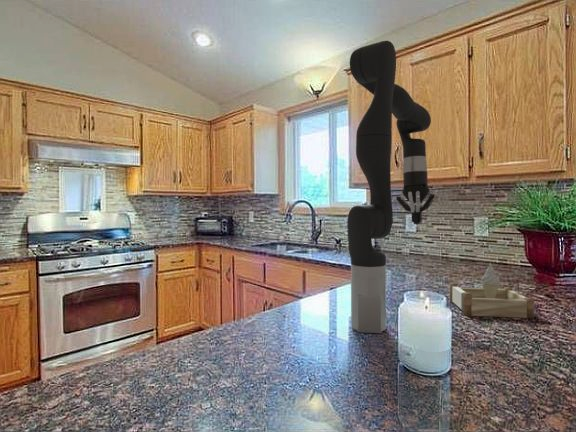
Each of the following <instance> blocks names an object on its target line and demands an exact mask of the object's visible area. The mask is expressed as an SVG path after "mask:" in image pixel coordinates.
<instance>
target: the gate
mask: <svg viewBox="0 0 576 432" xmlns="http://www.w3.org/2000/svg"><path fill="white" fill-rule="evenodd" d="M461 288H462V287H459V286H458V287H452V302H454V303H453V304H454V305H456V307H458V308H459V309H460V310H461V312H463V292H465V291H463V290H462V289H461Z"/></svg>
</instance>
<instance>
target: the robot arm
mask: <svg viewBox="0 0 576 432" xmlns="http://www.w3.org/2000/svg"><path fill="white" fill-rule="evenodd" d="M396 52H397V51H396V49H395V45H394V44H393V43H392V42H391V41H390V40H382V41H378V42H375V43H372V44H368V45H364V46H361V47H358V48H356V49H355V50H353V51H352V53H351V55H350V58H349V70H350V72H351V73H350V74H351V75H352V77H353V79H355V81H356V82H357V83H358V84H359V85H361V86H362V87H363V88H364V89H366V90H367V91H368V92H369V93H371V94H372V95H373V97H372V100H371V102H370V105H369V107H367V110H366V111H365V113H364V115H363V117H362V118H361V120H360V121H359V125H358V126H357V129H356V137H355V139H356V140H355V141H356V143H355V144H356V145H355V156H356V159H357V162H358V164H359V167H360V169H361V171H362V173H363V175H364V177H365V179H366V181H367V184H368V187H369V194H370V196H369V197H370V199H369V203H370V204H356V205H353V206H352V207H351V208H350V210H349V212H348V214H347V219H346V220H347V222H346V223H347V224H346V225H347V227H346V228H347V241H348V253H349V256H350V318H351V319H350V322H351V323H350V325H351V326H350V327H351V329H353V330H354V331H356V332H357V333H368V334H382V333H383V332H384V331H386V330H387V256H386V254H385V253H383V252H381V251H378V250H376V249H375V248H374V246H373V240H374V239H375V240H376V239H383V238H387V236H389V235H390V233H391V231H392V228H393V222H394V221H393V217H394V216H393V203H392V201H393V199H392V188H391V185H392V184H391V183H392V182H391V180H392V179H391V176H392V175H391V173H392V171H391V165H392V164H391V162H392V144H393V143H392V141H393V140H392V139H393V134H392V131H393V130H392V127H393V126H392V125H393V124H392V123H393V122H392V121H393V120H392V119H393V116H394V118H395V119H396V123H395V124H396V128H397V131H398V133H399V137H400V140H401V143H402V144H401V145H402V153H403V154H402V155H403V157H402V158H403V160H402V161H403V162H402V176H403V177H402V179H403V189H402V193H401V194H400V195H399V196H397V197H395V199H396V200H397V201H398V203H399V204H400V205H401V207H403V209H404V210H405V211H406V212H409V213H410V214H411V222H412V223H413V225H421V223H422V221H423V214H422V213H423V212H425V211H428V209H429V208H430V206H431V205H432V204H433V203H434V201H435V200H436V198H437V195H436V194H434V193H432V192H431V191H430V188H429V186H428V185H429V182H428V162H427V152H426V150H427V148H426V141H425V140H424V139H422V138H413V137H412V136H411V134H415V133H419V132H424V131H427V130H428V129H429V127H430V125H431V123H432V118H431V115H430V113H429V111H428V110H427V109H426V108H425V107H424V106H422V105H420V104H419V103H417V102H416V101H414V99H413V98H412V97H411V96H412V95H410V94H409V92H408V91H407V90H406V89H405V88H403V87H402V86H401V85H398V84H397V83H395V82H396V72H397V53H396ZM426 198H427V200H426ZM425 200H426V201H425ZM406 201H408V202H409V204H408V203H407V202H406ZM424 201H425V203H424ZM372 239H373V240H372Z"/></svg>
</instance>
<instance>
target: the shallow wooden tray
mask: <svg viewBox="0 0 576 432" xmlns="http://www.w3.org/2000/svg"><path fill="white" fill-rule="evenodd" d="M458 285H459V284H458V282H450V283H449V303H450V304H455V303H454V302H452V287H459V286H458ZM460 288H461V289H462V290H463V291H465V292H463V311H462V315H463V316H466V317H471V316H472V317H473V316H475V317H477V316H478V317H496V318H497V317H499V318H500V317H501V318H523V319H524V318H525V319H526V318H527V319H535V298H534V297H527V296H524V295H522V294H521V293H519V292H517V291H514V290H513V287H510V286H509V287H508V286H504V287H503V288H498V290H497V293H496V296H495V299H494V298H486V296H485V293H484V289H483V287H460Z"/></svg>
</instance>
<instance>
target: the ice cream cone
mask: <svg viewBox="0 0 576 432" xmlns="http://www.w3.org/2000/svg"><path fill="white" fill-rule="evenodd" d="M481 284H482V288H483V289H484V293H485V296H486V298H494V299H495V296H496V293H497V290H498V289H499V287H500V278H499V276H498V274H496V270H495V269H494V266H493V265H492V263H491V262H489V265H488V267H487V268H486V270H485V273H484V275H482V276H481Z"/></svg>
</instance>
